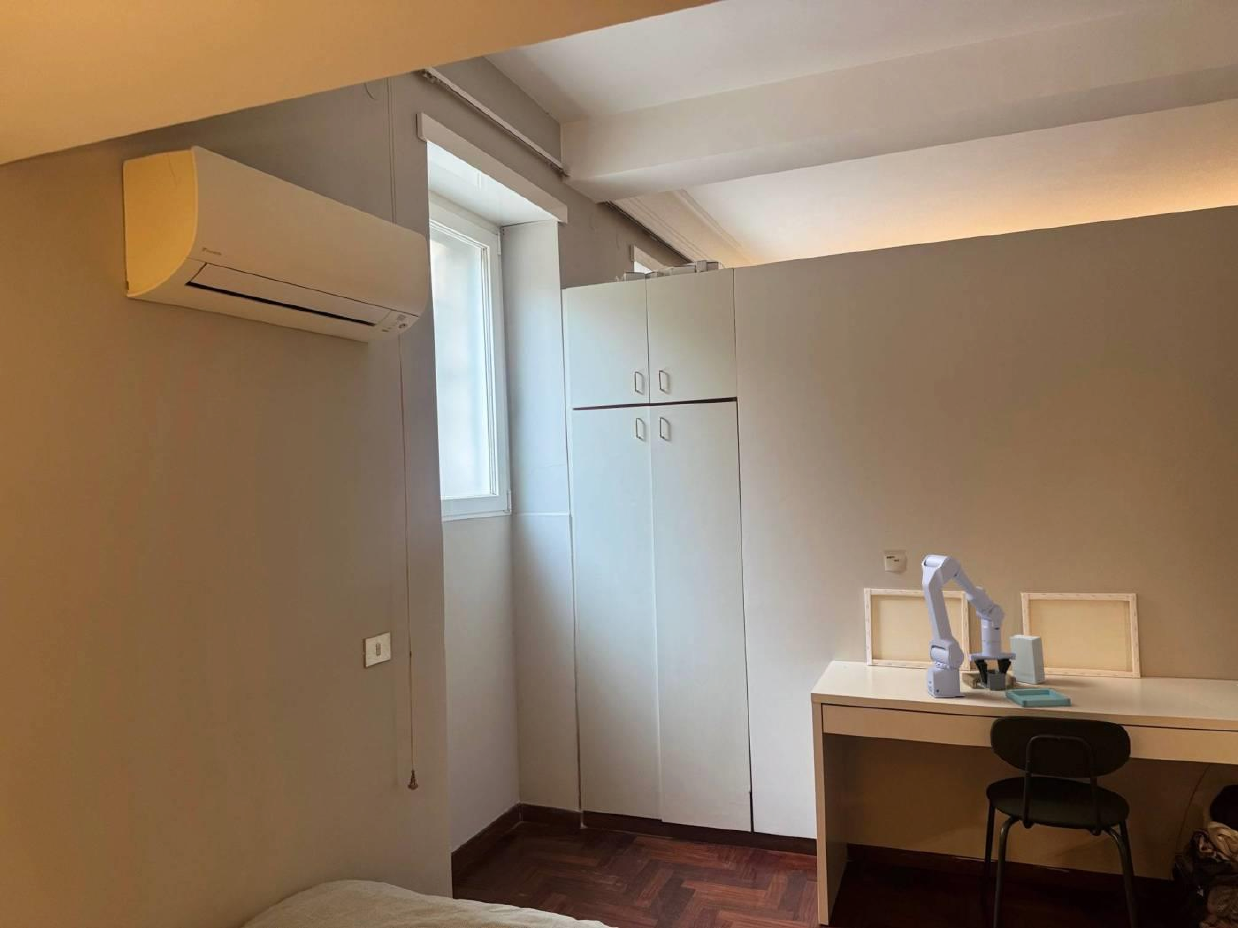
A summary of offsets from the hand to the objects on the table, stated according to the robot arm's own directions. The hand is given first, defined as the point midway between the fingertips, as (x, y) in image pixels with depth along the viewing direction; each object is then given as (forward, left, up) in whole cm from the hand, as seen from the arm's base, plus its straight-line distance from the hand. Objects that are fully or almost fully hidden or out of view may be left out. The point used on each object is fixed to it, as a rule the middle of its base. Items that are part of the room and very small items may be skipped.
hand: (993, 682), depth 269 cm
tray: (+6, -17, -2) cm, 18 cm away
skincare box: (+14, +6, -2) cm, 15 cm away
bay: (0, +3, -2) cm, 3 cm away
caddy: (0, 0, -2) cm, 2 cm away
